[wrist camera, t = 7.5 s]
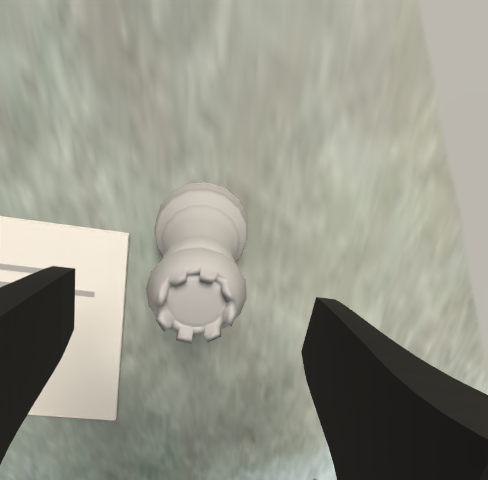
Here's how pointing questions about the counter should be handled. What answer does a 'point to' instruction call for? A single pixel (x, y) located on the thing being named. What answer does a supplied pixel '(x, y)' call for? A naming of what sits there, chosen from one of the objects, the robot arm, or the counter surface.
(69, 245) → the letter
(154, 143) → the counter surface
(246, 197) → the counter surface
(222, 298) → the rook chess piece
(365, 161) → the counter surface
